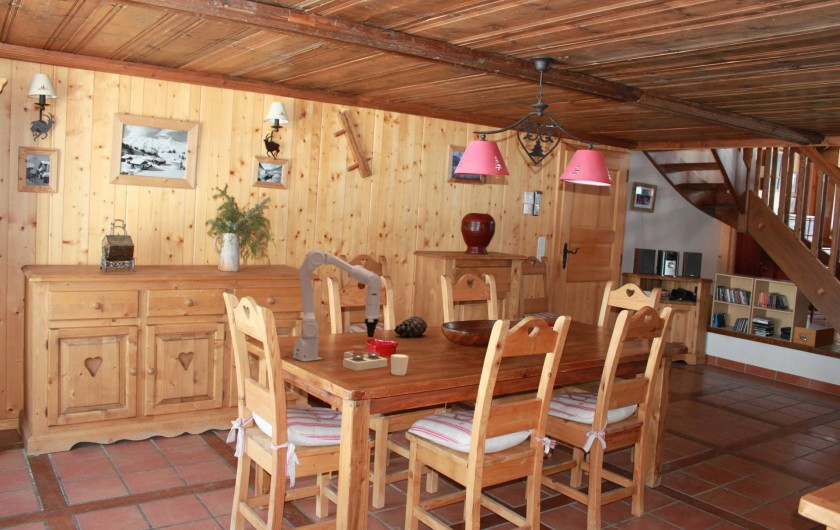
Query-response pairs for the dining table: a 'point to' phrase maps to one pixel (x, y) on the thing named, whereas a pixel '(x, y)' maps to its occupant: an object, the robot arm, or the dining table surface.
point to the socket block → (363, 362)
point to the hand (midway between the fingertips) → (370, 336)
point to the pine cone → (411, 328)
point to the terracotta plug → (358, 349)
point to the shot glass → (399, 364)
